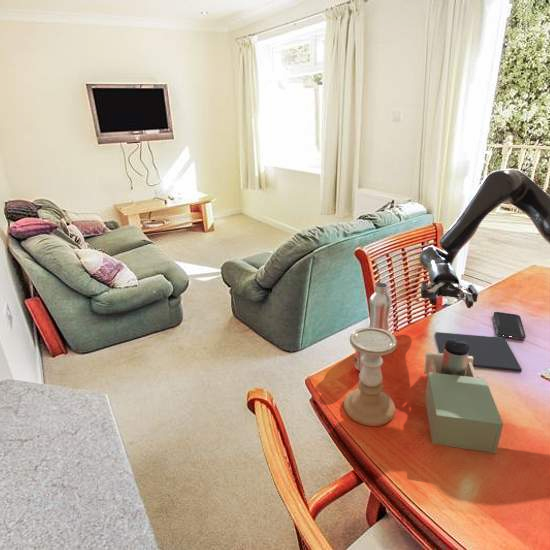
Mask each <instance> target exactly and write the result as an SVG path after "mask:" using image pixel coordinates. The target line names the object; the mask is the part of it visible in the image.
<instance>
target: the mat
mask: <svg viewBox="0 0 550 550" xmlns="http://www.w3.org/2000/svg"><path fill="white" fill-rule="evenodd" d="M434 335H435V337H436V342H437V347H438V350H439V353H444V345H445V342H446V341H448V340H459V341H462V342H465V343H466V344H467V345H468V346H469V348H470V349H469V353H468V356H473V364H472V365H473V368H480V369H482V368H483V369H491V370H492V369H493V370H501V371H511V372H519V373H522V370H523V369H522V367H521V365H520V364H519V361H518V360H517V358H516V356H515V354H514V352H513V350H512V349H511V347H510V345H509V343H508V342H507V340H506V337H500V336H487V335H486V336H485V335H476V334H475V335H474V334H465V333H464V334H462V333H452V332H439V331H435V333H434Z"/></svg>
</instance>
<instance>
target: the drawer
mask: <svg viewBox="0 0 550 550" xmlns="http://www.w3.org/2000/svg"><path fill="white" fill-rule="evenodd" d="M443 354H444V353H440V352H432V351H425V358H424V367H423V373H424V374H427V375H428V373H429V372H431V373H441V367H442V360H443ZM472 364H473V356H468V359H467V364H466V370H465V375H464V376H467V377H476V378H478V376H477V373H476V371H475V367H473V365H472Z"/></svg>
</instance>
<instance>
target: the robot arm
mask: <svg viewBox="0 0 550 550" xmlns="http://www.w3.org/2000/svg"><path fill="white" fill-rule="evenodd" d="M506 203H508V204H510V205H512V206H514V207H515V208H517V209H518V210H519V211H521V212H522V213H524V214H525V215H526V216H527V217H528V218H529V219H530V220H531V222H532V223H533V225H534V226H535V228H536V230H537V231H538V233H539V234H540V236H541V237H542V238H543V239H544V241H545V242H547V243H548V244H549V245H550V194H548V193H547V192H546V191H545V190H544V189H543V188H541V187H540V186H539V185H538V184H537V183H536V182H535V181H534V180H532V179H531V177H529V176H528V175H527V174H526V173H525V172H523V171H521V170H519V169H516V168H505V169H498V170H494V171H492V172H490V173H489V174H487V175H486V177H485V178H484V179H483V180H482V182H481V183H480V184H479V186H478V188H477V190H476V191H475V193H474V195H473V196H472V198H471V199H470V201H469V203H468V204H467V206H466V207H465V209H463V211H462V212H461V214H460V215H459V216H458V217H457V219H456V220H455V221H454V222H453V223H452V224H451V226H450V227H449V228H447V230H446V231H445V233H444V234H443V235H442V236H441V237H440V238H439V241H438V244H439V246H440V248H442V249H440V248H438V247H436V246H433V245H427V246H426V247H424V248H422V250H421V251H420V253H419V263H420V265H421V266H422V267H423V268H424V270H425V271H427V272H428V281H429V283H430V284H428V283H427V282H426V281H421V283H420V284H421V285H420V298H421V299H426V298H427V300H428V301H429V304H431V305H432V306H434V307H436V306H437V299H439V298H440V297H442V298H443V297H444V298H445V297H448V298H454V299H456V300H458V301H463V302H464V303H465V306H466V308H467V309H472V307H473V306H474V303H477V302H478V297H479V291H478V290H477V289H476V288H475V286H474V285H473V284H468V286H463V285H462V284H461V282H460V280H459V278H458V276H457V274H456V271H455V269H454V268H453V267H452V265H453V263H454V262H455V259H456V257H457V255H458V254H459V252H460V251H461V250H462V249H463V247H464V246H465V245H467V244H468V242H469V241H470V240H471V239H472V238H473V237H474V235H475V234H476V232H477V231H478V228H479V227H480V225H481V223H482V222H483V220H484V219H485V218H486V217H487V216H488V215H489V214H490V213H491V212H492V211H494V210H495V209H496V208H497V207H499V206H500V205H501V204H506Z"/></svg>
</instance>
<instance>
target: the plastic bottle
mask: <svg viewBox="0 0 550 550" xmlns="http://www.w3.org/2000/svg"><path fill="white" fill-rule="evenodd" d="M391 307H392V297H391V296H390V295H389V285H388V284H387V283H385V282H376V283H375V285H374V292H373V293H372V294H371V296H370V297H369V312H370V319H369V327H371V328H379V329H383V330H386V331H388V332H390V329H389V317H390V311H391ZM369 327H368V328H369Z"/></svg>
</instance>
